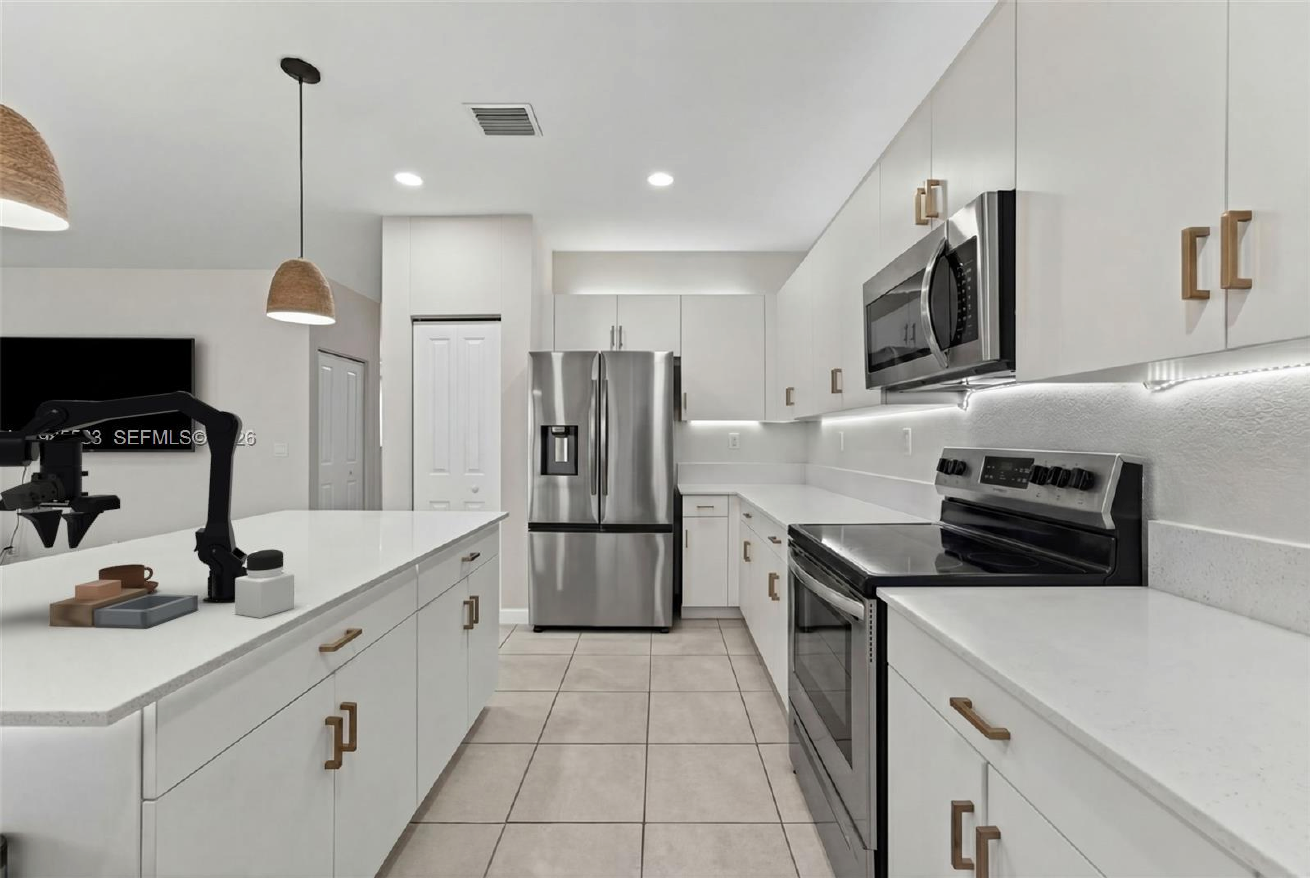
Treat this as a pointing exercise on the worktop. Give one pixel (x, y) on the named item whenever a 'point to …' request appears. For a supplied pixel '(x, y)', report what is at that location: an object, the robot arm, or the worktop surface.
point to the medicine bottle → (264, 586)
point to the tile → (98, 589)
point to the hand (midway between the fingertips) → (61, 548)
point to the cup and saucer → (129, 576)
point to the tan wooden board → (87, 608)
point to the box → (145, 611)
